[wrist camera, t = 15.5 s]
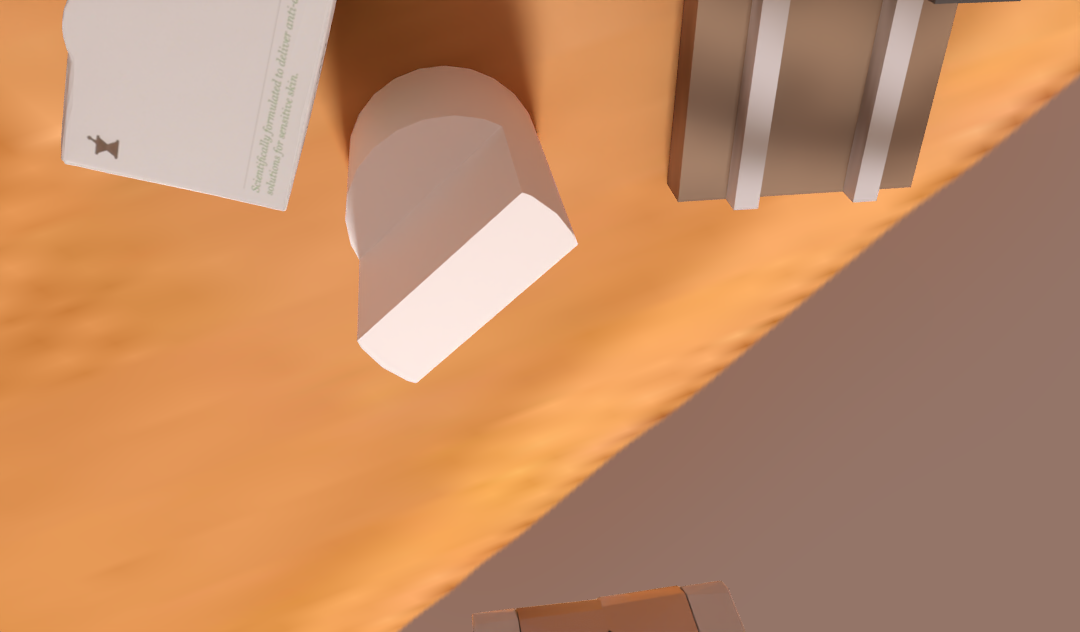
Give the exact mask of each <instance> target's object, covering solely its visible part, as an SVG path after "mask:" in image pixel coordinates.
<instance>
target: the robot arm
mask: <svg viewBox="0 0 1080 632" xmlns="http://www.w3.org/2000/svg"><path fill="white" fill-rule="evenodd" d="M472 624H473V632H746V631H745V628H744V626H743V623H742V621H741V618H740V616H739V613H738V611H737V609H736V606H735V604H734V601H733V599H732V596H731V594H730V591H729V589H728V588H727V586H726V585H725V584H724V583H723V582H722V581H714V582H708V583H701V584H695V585H688V586H682V587H678V586H672V587H665V588H658V589H652V590H646V591H638V592H632V593H625V594H618V595H612V596H606V597H599V598H597V599H595V600H587V601H578V602H569V603H561V604H551V605H543V606H534V607H525V608H517V609H516V610H515V608H513V609H505V610H498V611H490V612H483V613H475V614H472Z"/></svg>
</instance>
